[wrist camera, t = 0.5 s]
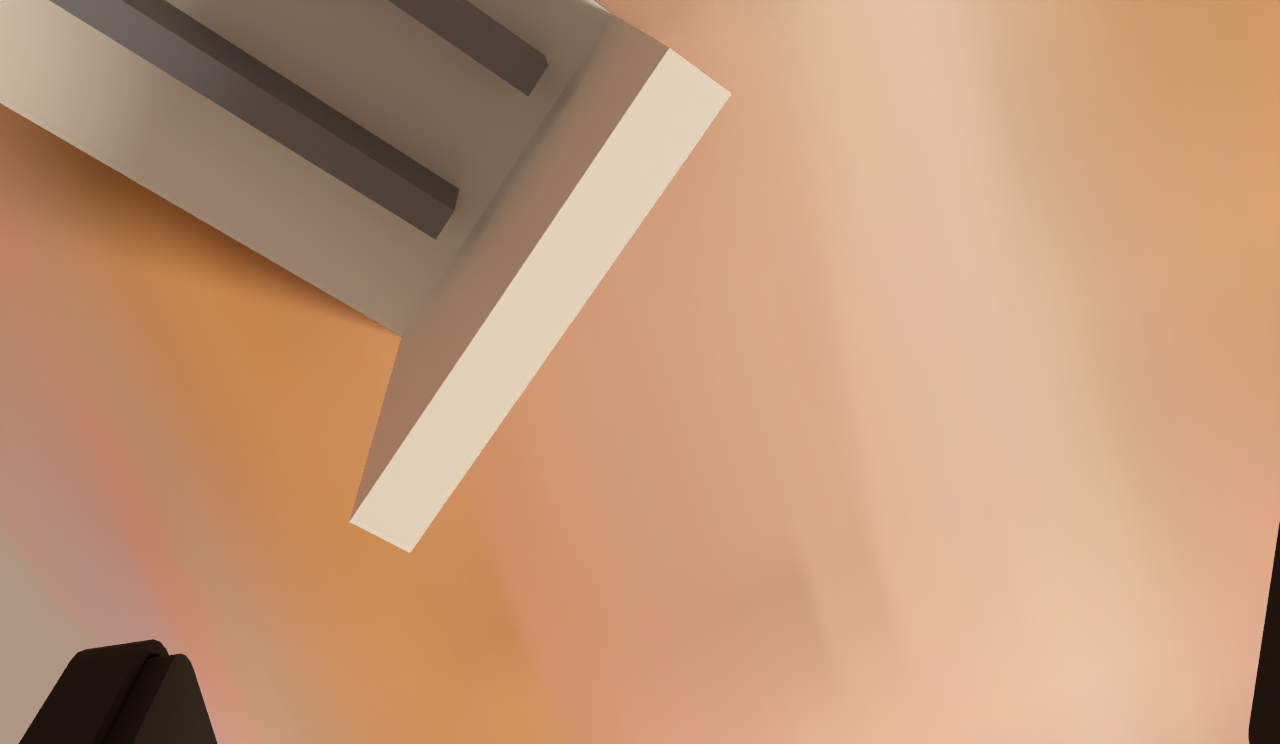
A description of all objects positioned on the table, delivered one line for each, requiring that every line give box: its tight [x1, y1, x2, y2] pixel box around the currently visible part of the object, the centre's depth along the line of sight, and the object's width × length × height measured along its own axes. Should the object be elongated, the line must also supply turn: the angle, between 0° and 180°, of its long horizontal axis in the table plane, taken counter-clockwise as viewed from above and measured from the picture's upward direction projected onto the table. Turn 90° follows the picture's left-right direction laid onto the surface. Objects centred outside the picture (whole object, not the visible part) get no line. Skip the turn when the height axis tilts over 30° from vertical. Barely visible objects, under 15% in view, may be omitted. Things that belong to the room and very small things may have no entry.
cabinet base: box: [0, 0, 731, 553], centre depth 25 cm, size 12×18×13 cm, turn 55°
